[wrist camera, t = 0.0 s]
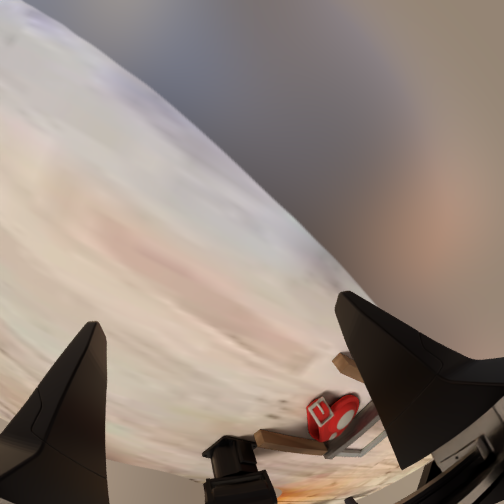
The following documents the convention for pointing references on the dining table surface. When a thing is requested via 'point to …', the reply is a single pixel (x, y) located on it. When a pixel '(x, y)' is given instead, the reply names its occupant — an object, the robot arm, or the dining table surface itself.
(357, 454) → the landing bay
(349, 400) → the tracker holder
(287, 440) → the stall
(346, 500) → the two-way radio
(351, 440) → the bar
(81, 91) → the dining table surface
